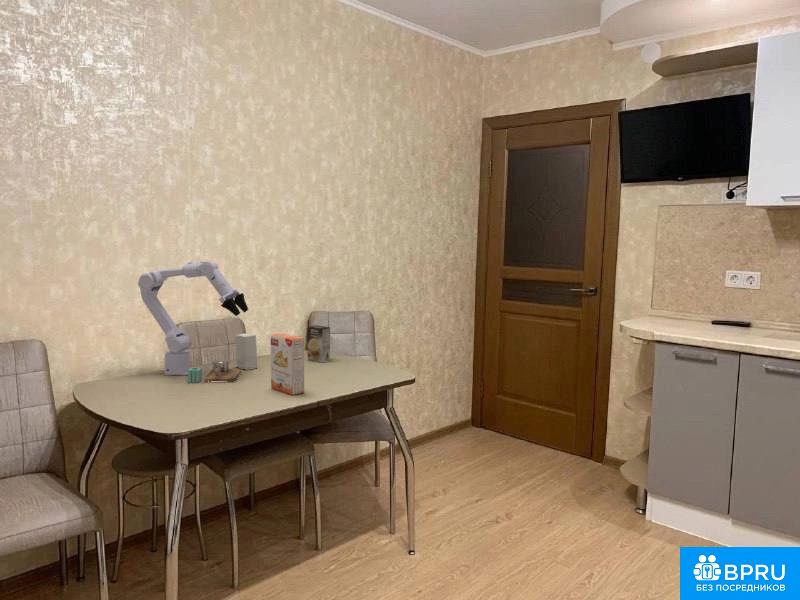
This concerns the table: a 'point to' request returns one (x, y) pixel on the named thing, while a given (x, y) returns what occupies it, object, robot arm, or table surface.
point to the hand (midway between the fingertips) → (242, 312)
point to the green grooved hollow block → (194, 374)
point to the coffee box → (318, 344)
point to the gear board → (223, 375)
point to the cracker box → (287, 363)
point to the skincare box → (246, 351)
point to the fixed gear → (221, 365)
